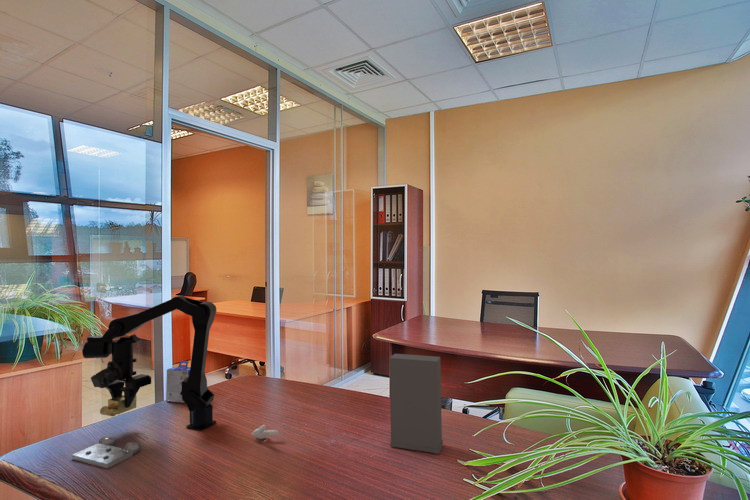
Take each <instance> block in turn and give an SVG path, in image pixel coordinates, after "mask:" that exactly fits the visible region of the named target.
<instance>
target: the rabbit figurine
mask: <svg viewBox="0 0 750 500" xmlns="http://www.w3.org/2000/svg"><path fill="white" fill-rule="evenodd" d="M266 427H267V426H266V424H262V425H261V426H259V427H258V428H256V429H254V430H253V432H251V433H250V434H251V435H252V436H253V437H255V438H257V439H259V440H262V439H265V438H266V437H267V436H269V437H273V436H277V435H279V433H280V432H279V431H278V430H276V429H268V430H266ZM267 441H268V438H267V439H265V440H263V441H262V442H263V443H264V442H267Z"/></svg>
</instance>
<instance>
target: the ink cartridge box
mask: <svg viewBox="0 0 750 500" xmlns="http://www.w3.org/2000/svg"><path fill="white" fill-rule="evenodd" d="M188 365H189V360H188V361H187V360H180V361H179V364H178V366H173V367H170V368H168V369H166V380H165V381H166V385H165V386H166V387H165V388H166V389H165V390H166V393H165V402H169V401H168V400H170V402H172V403H184V404H186V403H185V402H184V401H183V400H182V395H180V393H181V390H182V381H184V380H185V379H186V378H187V377H188V376H189V375H190V367H191V366H188ZM179 396H180V397H179Z"/></svg>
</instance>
